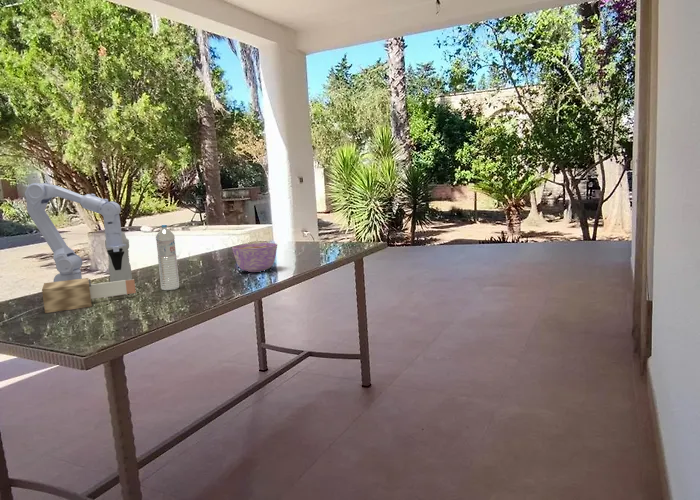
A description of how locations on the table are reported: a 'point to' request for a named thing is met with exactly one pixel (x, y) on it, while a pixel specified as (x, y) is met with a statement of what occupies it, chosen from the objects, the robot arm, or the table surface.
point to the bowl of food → (255, 256)
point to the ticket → (112, 288)
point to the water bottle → (167, 259)
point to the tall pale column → (126, 267)
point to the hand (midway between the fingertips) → (117, 268)
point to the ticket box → (66, 295)
